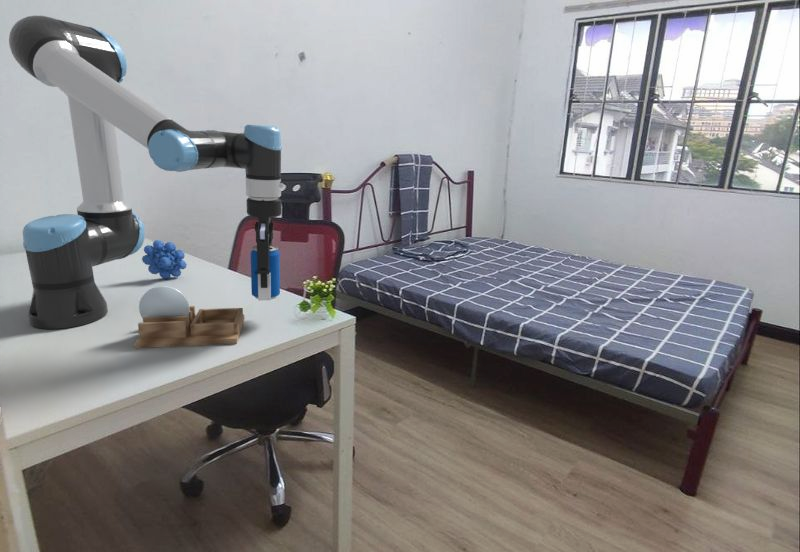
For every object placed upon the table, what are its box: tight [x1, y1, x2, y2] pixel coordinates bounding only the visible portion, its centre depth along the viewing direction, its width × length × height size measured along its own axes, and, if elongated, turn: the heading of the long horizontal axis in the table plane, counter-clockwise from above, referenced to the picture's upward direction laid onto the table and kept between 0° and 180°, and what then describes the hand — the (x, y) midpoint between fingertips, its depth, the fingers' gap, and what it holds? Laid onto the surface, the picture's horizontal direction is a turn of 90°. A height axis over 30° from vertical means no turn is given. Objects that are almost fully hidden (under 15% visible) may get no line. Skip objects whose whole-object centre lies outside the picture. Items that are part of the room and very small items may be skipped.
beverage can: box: [250, 244, 281, 300], centre depth 109 cm, size 6×6×12 cm
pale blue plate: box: [138, 285, 191, 319], centre depth 101 cm, size 10×1×10 cm, turn 101°
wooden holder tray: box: [134, 305, 246, 349], centre depth 104 cm, size 20×14×5 cm
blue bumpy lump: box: [141, 239, 188, 280], centre depth 137 cm, size 12×7×12 cm, turn 120°
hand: (265, 294), depth 110 cm, fingers closed on beverage can, 6 cm apart
